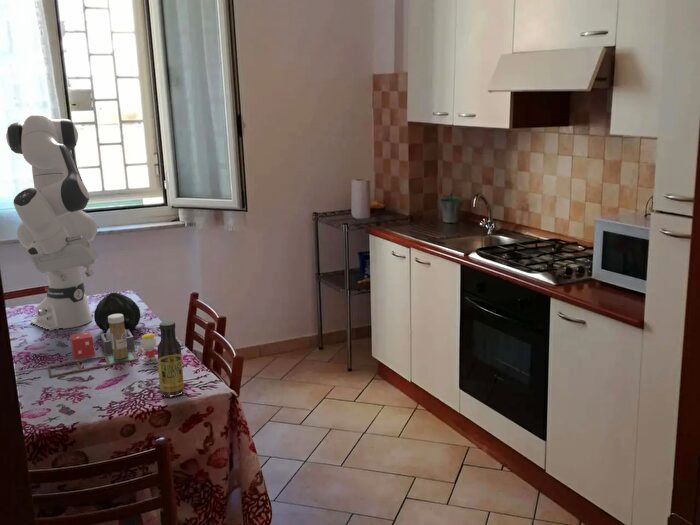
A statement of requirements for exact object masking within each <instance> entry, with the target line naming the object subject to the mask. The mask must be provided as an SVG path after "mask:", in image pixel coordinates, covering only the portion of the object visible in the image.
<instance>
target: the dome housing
mask: <svg viewBox="0 0 700 525" xmlns="http://www.w3.org/2000/svg"><path fill="white" fill-rule="evenodd" d="M126 331H127V337H126V341H127V351H130V350H134V349H135V339H134V335H133V334H132V332H131V331H129V329H126ZM106 333H107V332H106ZM106 333H100V341H101V347H102V349H103V351H104V353H105V355H109V354H113V349H112V343H111V340H109V341H107V339H106Z"/></svg>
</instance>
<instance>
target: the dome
mask: <svg viewBox="0 0 700 525" xmlns="http://www.w3.org/2000/svg"><path fill="white" fill-rule="evenodd" d="M125 335H126V337H127V331H126V330H125ZM106 339H107V341H109V340H111V336H110V328H109V329H108V331H107V332H106Z"/></svg>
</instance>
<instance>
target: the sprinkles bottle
mask: <svg viewBox="0 0 700 525" xmlns="http://www.w3.org/2000/svg"><path fill="white" fill-rule="evenodd" d="M108 323H109V326H110V336H111V343H112V349H113V353H112V354H113V358H114V359H124V358H126V357H128V351H129V350H127V341H126V335H125V328H124V316H123V314H112V315H110V316H108Z"/></svg>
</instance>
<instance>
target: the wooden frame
mask: <svg viewBox="0 0 700 525" xmlns="http://www.w3.org/2000/svg"><path fill="white" fill-rule="evenodd" d="M127 351H128V357H126V358H124V359H114V358H113V353H110V354H104V355H99V356H93V357H89V358H84V359H79V360H74V361H69V362H63V363H58V364H52V365H47V370H48V371H47V372H48V376H49V378H50V379H51V378H56V377H61V376H65V375H67V376H68V375H70V374H75V373H76V374H77V373H81V372H85V371H86V372H87V371H90V370H95V369H96V370H97V369H100V368H105V367H111V366H115V365H120V364H126V363H130V362H135V361H136V362H137V361H139V357H138V355H137V354H136V353H135V351H134V349H130V350H127ZM99 359H105V361H106V363H103V364H100V365H99V364H98V365H95V366H91V367H85V368H82V366H81V363H84V362H89V361H95V360H99ZM73 364H74V365H75V364H76V366H77V369H76V370H71V371H64V372H61V373H54V374H53V373H52V369H53V368H58V367H64V366H69V365H73Z"/></svg>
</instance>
